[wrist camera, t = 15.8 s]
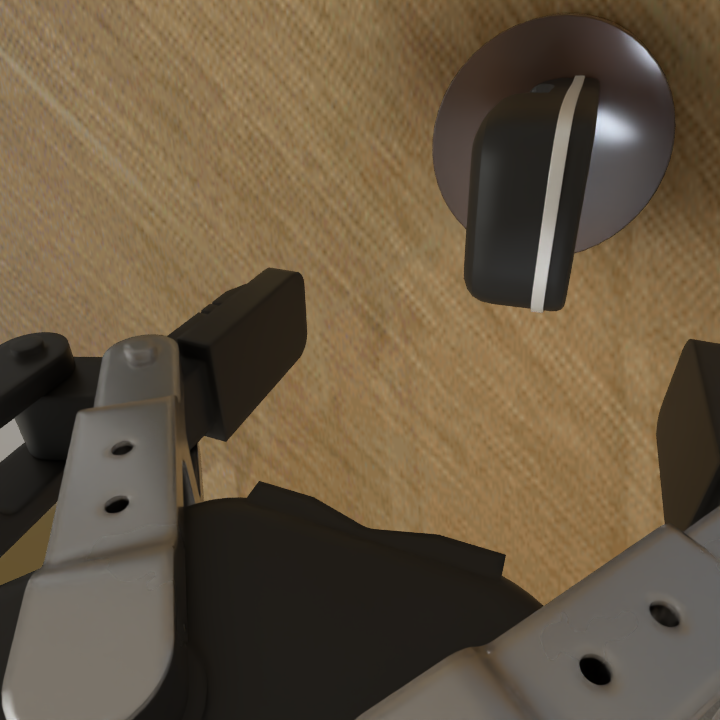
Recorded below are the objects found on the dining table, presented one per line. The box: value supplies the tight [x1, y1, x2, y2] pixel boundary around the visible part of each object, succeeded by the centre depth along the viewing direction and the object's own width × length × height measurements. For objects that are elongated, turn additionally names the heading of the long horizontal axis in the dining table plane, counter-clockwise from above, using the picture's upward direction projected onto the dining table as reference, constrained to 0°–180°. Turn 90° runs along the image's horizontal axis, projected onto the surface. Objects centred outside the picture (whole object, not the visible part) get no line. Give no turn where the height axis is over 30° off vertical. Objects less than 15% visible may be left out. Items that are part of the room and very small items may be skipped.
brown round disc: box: [433, 13, 676, 253], centre depth 28 cm, size 11×11×3 cm
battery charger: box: [464, 76, 600, 313], centre depth 22 cm, size 7×4×11 cm, turn 3°
